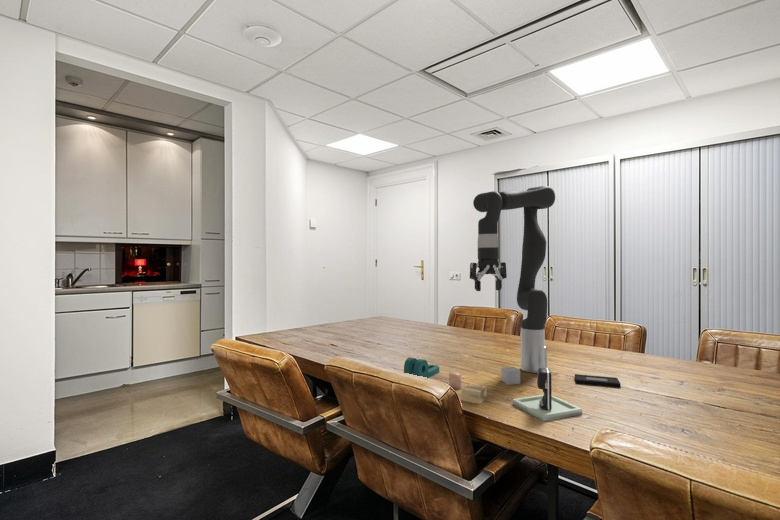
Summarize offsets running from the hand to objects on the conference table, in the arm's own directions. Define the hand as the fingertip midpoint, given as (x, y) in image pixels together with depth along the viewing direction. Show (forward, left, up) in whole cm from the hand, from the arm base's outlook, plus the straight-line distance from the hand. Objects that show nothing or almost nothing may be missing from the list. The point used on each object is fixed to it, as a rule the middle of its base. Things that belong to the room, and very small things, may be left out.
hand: (488, 290), depth 149 cm
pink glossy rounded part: (+14, 0, -34) cm, 37 cm away
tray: (-2, +28, -34) cm, 44 cm away
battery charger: (-1, +28, -34) cm, 44 cm away
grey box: (-8, +2, -34) cm, 35 cm away
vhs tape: (-37, +14, -35) cm, 53 cm away
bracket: (+18, -18, -34) cm, 43 cm away
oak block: (+14, +13, -34) cm, 39 cm away
